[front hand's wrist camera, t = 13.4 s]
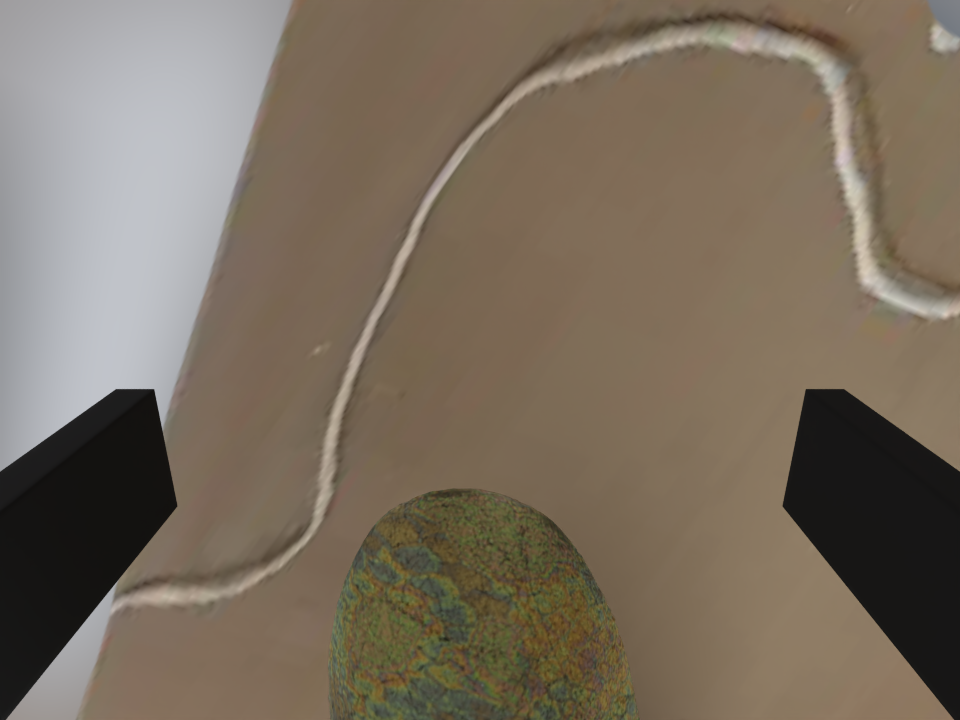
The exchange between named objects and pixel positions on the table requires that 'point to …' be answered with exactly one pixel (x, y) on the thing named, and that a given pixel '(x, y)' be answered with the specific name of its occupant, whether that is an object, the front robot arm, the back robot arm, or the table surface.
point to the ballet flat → (474, 620)
